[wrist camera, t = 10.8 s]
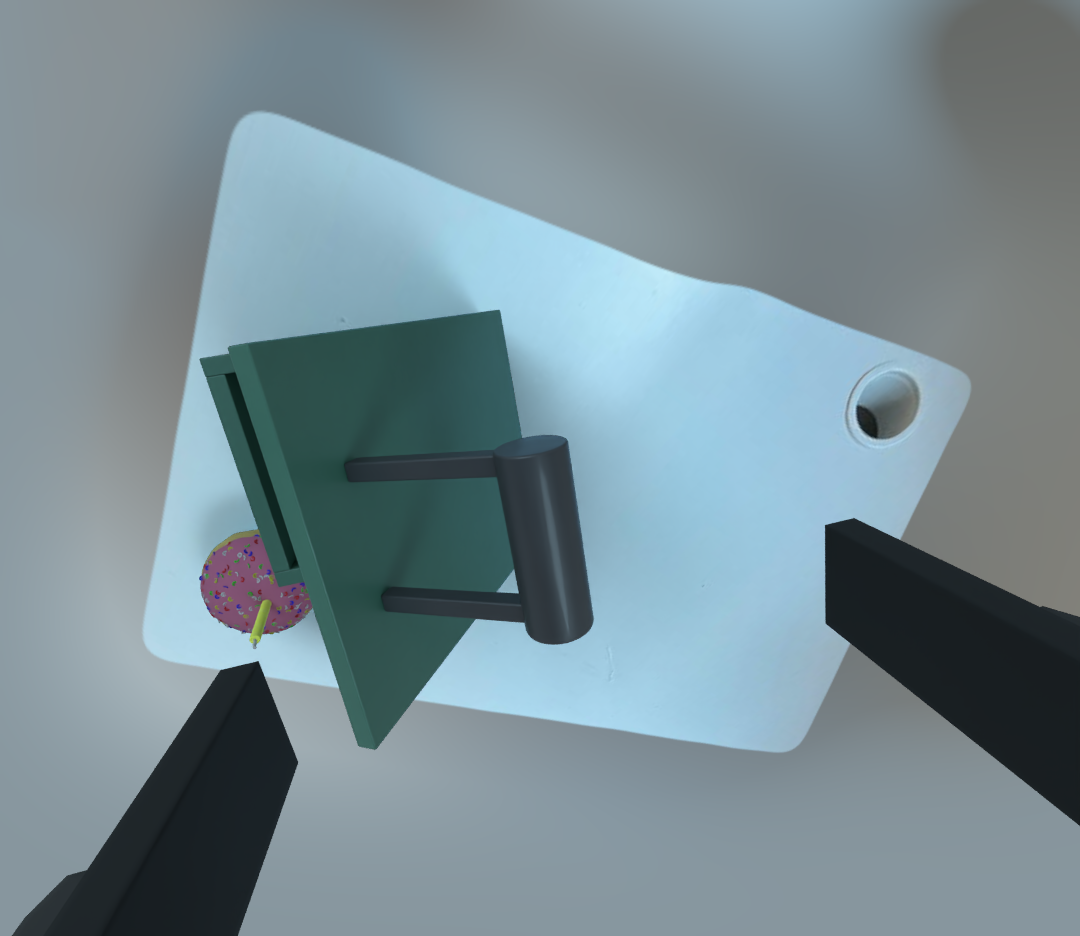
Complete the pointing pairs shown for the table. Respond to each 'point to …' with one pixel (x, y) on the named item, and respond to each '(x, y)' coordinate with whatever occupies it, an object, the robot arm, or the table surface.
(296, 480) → the cool box lid
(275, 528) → the cool box
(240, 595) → the cupcake
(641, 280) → the table surface
